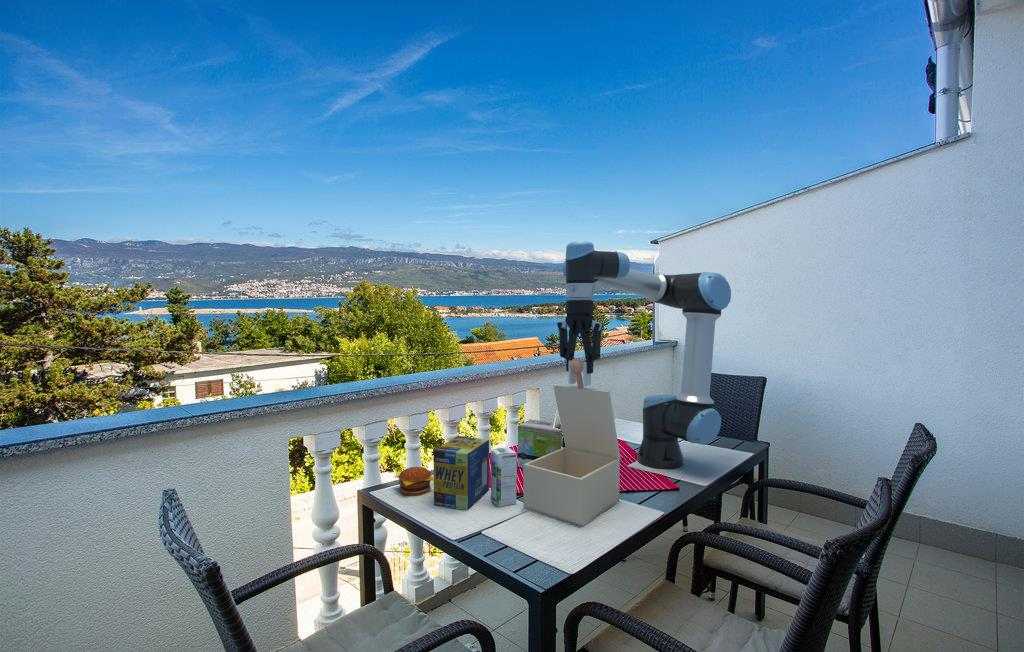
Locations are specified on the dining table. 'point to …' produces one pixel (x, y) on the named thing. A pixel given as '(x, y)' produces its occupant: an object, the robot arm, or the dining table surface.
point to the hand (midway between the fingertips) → (579, 384)
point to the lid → (586, 416)
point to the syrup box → (503, 476)
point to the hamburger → (415, 481)
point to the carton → (571, 485)
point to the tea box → (537, 440)
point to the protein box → (461, 472)
